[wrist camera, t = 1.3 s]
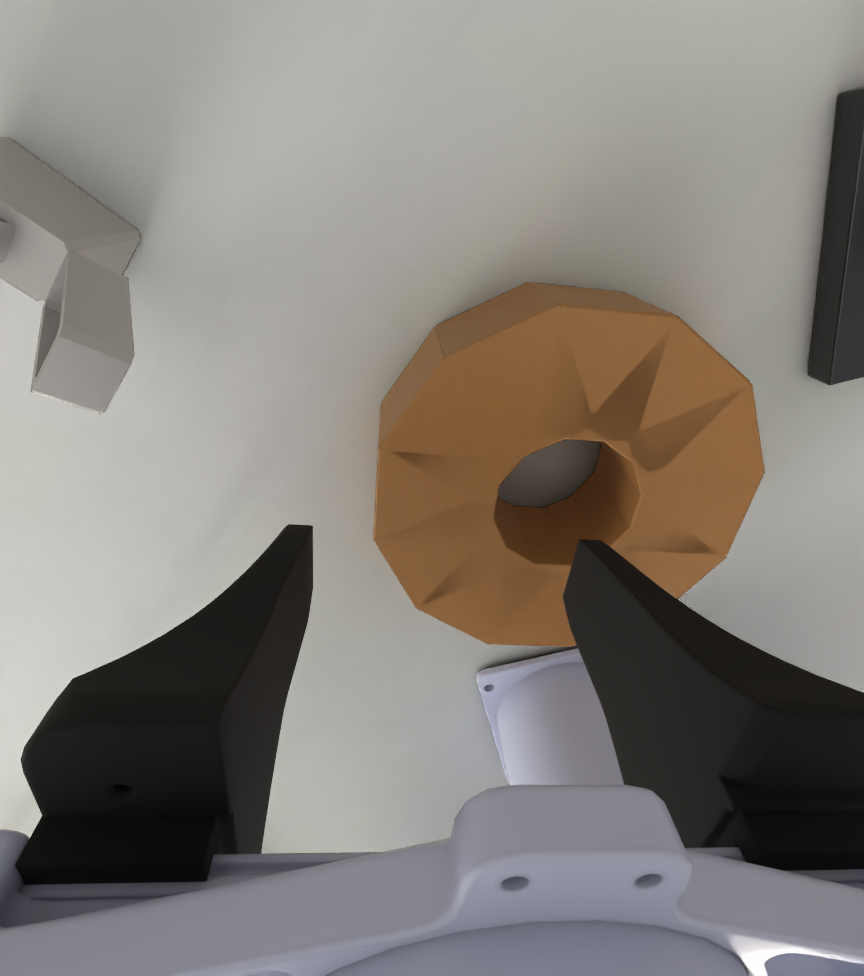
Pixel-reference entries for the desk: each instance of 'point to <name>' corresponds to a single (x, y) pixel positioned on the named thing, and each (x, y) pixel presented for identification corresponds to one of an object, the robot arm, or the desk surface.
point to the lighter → (68, 278)
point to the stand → (842, 254)
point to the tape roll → (543, 422)
